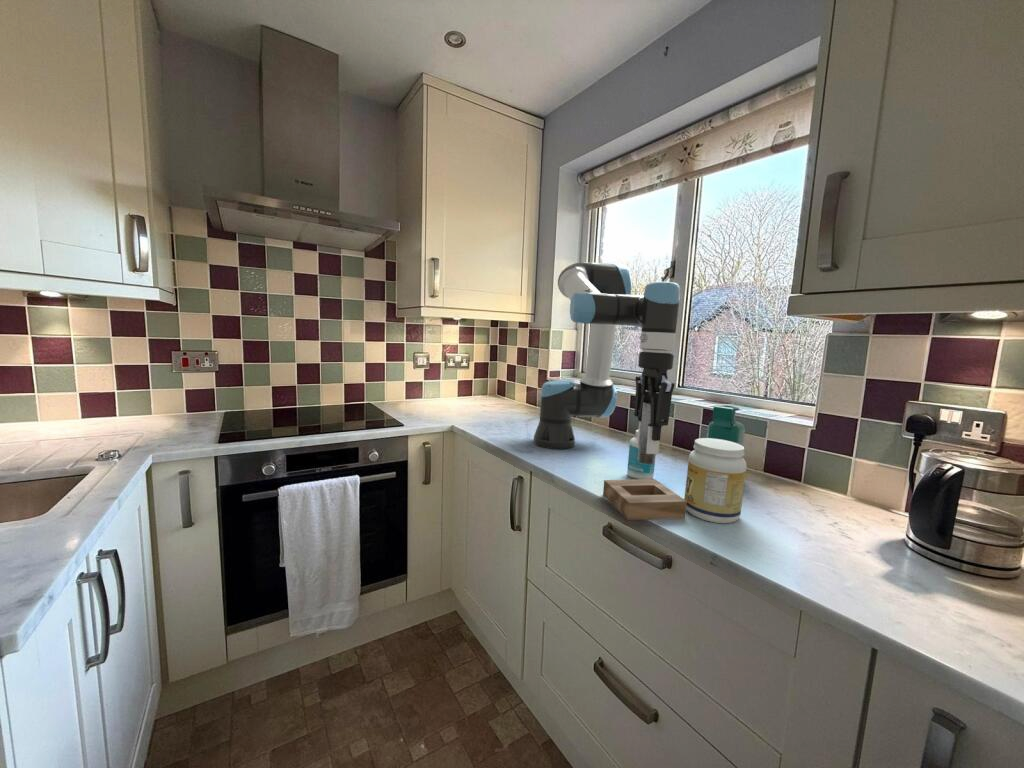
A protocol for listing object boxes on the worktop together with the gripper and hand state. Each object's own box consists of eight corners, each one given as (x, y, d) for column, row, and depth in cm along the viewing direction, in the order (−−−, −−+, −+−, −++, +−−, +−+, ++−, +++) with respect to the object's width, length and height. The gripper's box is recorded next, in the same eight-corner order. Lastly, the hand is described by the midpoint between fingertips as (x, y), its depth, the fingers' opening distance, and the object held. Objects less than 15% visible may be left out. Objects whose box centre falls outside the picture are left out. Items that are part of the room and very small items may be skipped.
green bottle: (710, 471, 128) (718, 402, 126) (740, 479, 123) (749, 406, 120) (698, 478, 122) (707, 404, 119) (729, 486, 116) (739, 409, 113)
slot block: (602, 495, 105) (604, 480, 104) (653, 493, 107) (654, 479, 107) (627, 520, 91) (629, 502, 91) (685, 518, 94) (687, 501, 93)
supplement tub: (682, 499, 105) (689, 434, 103) (735, 508, 101) (744, 440, 99) (683, 518, 94) (691, 445, 91) (744, 530, 89) (753, 454, 87)
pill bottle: (655, 482, 116) (659, 435, 114) (627, 479, 118) (632, 433, 116) (651, 473, 123) (655, 429, 122) (626, 470, 125) (629, 427, 123)
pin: (635, 459, 99) (640, 401, 97) (649, 459, 100) (654, 402, 98) (642, 464, 95) (648, 404, 94) (657, 463, 96) (663, 404, 94)
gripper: (624, 349, 102) (617, 441, 105) (661, 352, 86) (650, 461, 88) (652, 350, 103) (644, 441, 106) (693, 354, 87) (682, 461, 90)
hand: (647, 450), depth 97 cm, fingers closed on pin, 4 cm apart
